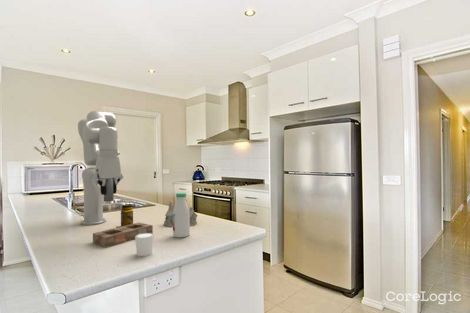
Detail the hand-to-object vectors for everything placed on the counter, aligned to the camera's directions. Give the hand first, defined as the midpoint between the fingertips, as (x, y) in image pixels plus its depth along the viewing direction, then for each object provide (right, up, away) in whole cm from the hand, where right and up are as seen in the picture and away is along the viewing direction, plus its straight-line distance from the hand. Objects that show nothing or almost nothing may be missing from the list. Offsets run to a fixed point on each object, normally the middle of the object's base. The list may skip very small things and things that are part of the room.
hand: (108, 193), depth 117 cm
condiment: (-1, -21, +19) cm, 28 cm away
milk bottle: (+33, -21, +4) cm, 39 cm away
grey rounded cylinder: (0, -3, 0) cm, 3 cm away
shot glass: (+23, -20, -19) cm, 36 cm away
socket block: (+7, -21, +1) cm, 22 cm away
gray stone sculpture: (+27, -21, +25) cm, 43 cm away
